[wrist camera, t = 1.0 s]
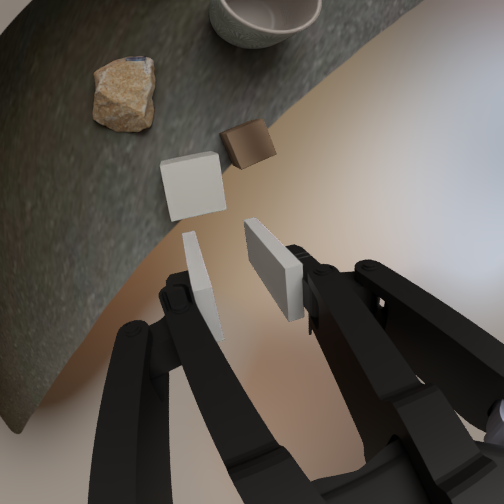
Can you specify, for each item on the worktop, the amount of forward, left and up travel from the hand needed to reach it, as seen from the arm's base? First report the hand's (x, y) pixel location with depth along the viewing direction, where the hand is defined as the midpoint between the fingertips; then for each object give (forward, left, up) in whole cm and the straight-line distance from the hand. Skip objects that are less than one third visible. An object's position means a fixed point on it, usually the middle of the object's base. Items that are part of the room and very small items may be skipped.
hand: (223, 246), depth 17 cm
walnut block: (+8, +4, -25) cm, 26 cm away
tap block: (0, 0, -25) cm, 25 cm away
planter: (+11, +23, -25) cm, 36 cm away
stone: (-7, +14, -25) cm, 29 cm away
